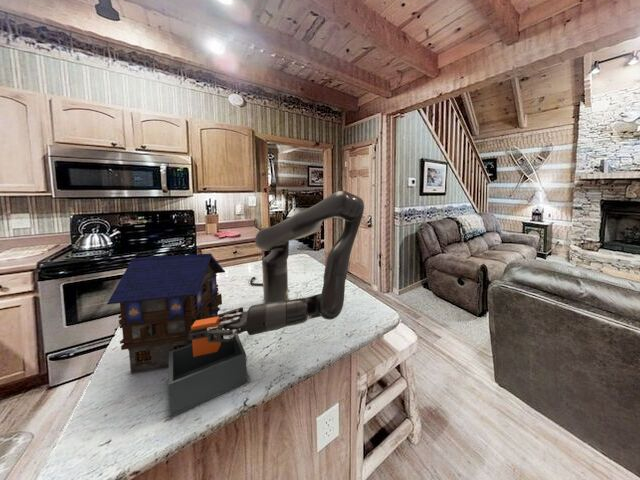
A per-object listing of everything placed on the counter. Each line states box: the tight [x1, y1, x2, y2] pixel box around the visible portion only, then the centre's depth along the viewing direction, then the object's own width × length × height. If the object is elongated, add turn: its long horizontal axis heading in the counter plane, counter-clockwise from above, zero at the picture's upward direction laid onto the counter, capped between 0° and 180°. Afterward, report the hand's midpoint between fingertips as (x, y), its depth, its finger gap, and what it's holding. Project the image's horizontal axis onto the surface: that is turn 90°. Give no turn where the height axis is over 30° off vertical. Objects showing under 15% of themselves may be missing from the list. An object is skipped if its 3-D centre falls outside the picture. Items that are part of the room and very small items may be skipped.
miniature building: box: [106, 252, 226, 374], centre depth 76 cm, size 19×21×30 cm
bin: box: [167, 334, 248, 418], centre depth 66 cm, size 15×15×8 cm
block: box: [191, 316, 221, 357], centre depth 65 cm, size 3×5×8 cm, turn 113°
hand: (192, 331), depth 64 cm, fingers closed on block, 3 cm apart
